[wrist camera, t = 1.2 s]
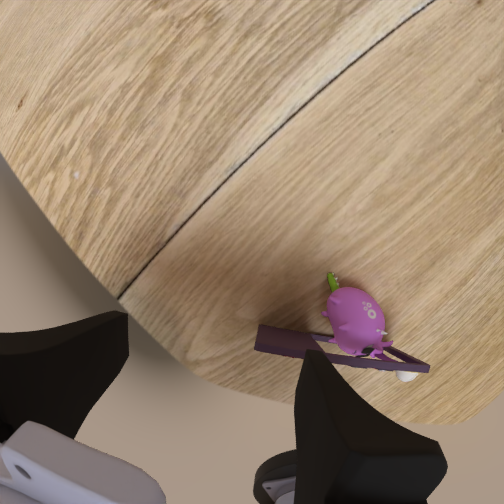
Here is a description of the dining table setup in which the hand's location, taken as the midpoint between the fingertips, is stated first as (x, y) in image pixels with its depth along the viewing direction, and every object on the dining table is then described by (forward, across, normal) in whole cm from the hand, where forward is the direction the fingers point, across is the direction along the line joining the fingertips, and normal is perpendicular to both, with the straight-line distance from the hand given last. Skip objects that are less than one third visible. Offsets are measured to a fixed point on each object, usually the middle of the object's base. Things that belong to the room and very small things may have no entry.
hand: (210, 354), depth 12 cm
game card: (+9, -6, +1) cm, 11 cm away
